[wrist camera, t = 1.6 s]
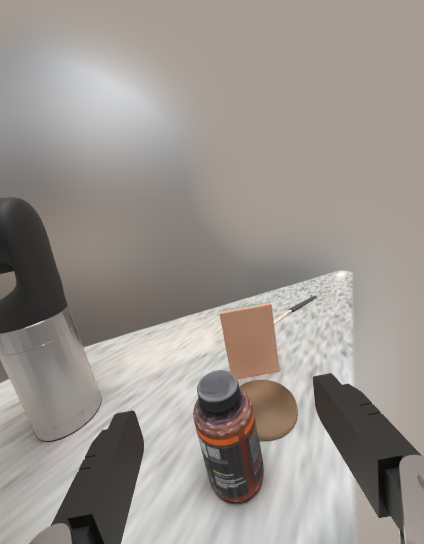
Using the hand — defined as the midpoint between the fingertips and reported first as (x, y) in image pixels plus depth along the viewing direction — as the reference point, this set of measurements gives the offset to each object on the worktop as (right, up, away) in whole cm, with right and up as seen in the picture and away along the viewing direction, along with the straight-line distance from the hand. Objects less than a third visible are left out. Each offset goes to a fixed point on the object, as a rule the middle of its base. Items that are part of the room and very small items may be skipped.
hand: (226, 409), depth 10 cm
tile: (+7, -11, +28) cm, 31 cm away
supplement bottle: (+2, -16, +14) cm, 21 cm away
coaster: (+6, -13, +21) cm, 25 cm away
